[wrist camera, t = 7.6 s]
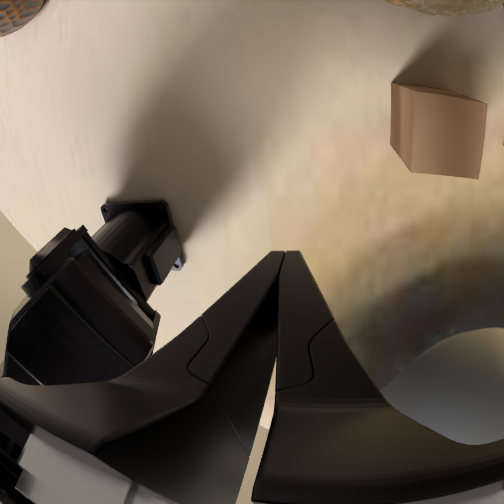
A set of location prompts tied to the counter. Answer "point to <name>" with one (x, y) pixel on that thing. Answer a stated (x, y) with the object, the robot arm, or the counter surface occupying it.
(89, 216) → the counter surface
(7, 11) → the vase
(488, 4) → the fossil
